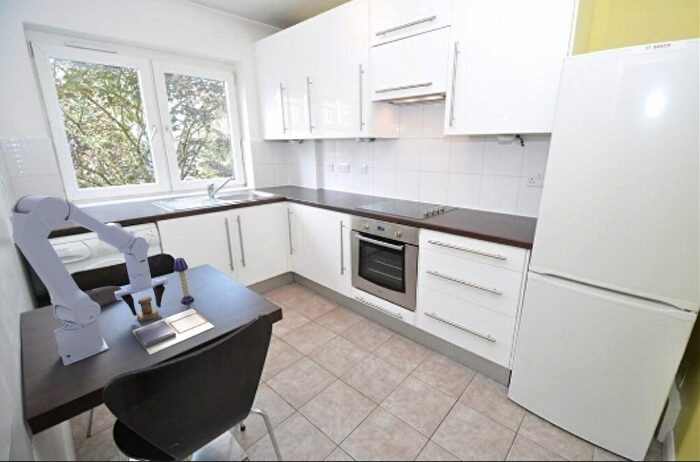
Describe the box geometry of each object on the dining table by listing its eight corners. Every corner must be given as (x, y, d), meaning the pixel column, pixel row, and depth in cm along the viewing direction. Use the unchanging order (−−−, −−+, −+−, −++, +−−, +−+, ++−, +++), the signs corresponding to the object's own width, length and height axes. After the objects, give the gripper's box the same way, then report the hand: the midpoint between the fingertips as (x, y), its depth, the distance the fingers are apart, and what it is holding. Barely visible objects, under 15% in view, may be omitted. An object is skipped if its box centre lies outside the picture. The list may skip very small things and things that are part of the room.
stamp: (142, 323, 102) (138, 304, 100) (137, 318, 105) (133, 299, 104) (159, 317, 106) (155, 298, 104) (154, 312, 109) (150, 294, 107)
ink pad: (145, 348, 89) (144, 344, 88) (135, 335, 95) (134, 330, 95) (176, 336, 94) (175, 332, 94) (164, 324, 101) (163, 320, 101)
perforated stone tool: (121, 296, 121) (117, 279, 119) (127, 299, 118) (123, 282, 116) (72, 313, 109) (66, 294, 107) (77, 317, 106) (72, 298, 104)
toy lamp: (187, 305, 113) (180, 261, 109) (176, 303, 114) (168, 260, 110) (196, 298, 118) (189, 256, 113) (185, 297, 119) (178, 256, 114)
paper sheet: (150, 355, 87) (149, 353, 86) (132, 331, 98) (132, 330, 98) (214, 327, 99) (214, 326, 99) (192, 309, 110) (192, 308, 110)
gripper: (115, 283, 93) (124, 323, 97) (168, 268, 104) (174, 306, 107) (109, 276, 98) (118, 315, 102) (160, 263, 108) (167, 299, 112)
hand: (147, 310), depth 105 cm, fingers open, 6 cm apart
